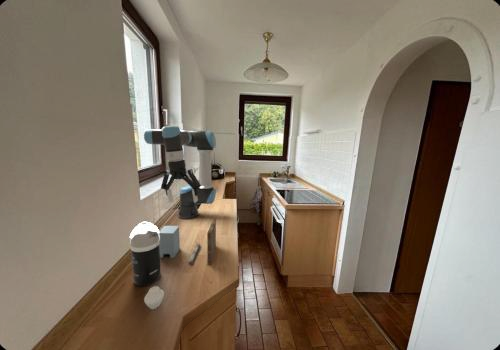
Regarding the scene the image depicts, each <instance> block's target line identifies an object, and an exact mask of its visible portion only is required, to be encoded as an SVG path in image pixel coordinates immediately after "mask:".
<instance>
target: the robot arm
mask: <svg viewBox="0 0 500 350" xmlns="http://www.w3.org/2000/svg"><path fill="white" fill-rule="evenodd" d="M143 140H144V141H145V143H146V144H147V145H148V144H149V145H161V146H162V145H163V146H164V148H165V155H166V159H167V165H168V169H166V170H164V171H163V179H162V182H161V186H160V189H161V190H165V195H166V196H167V199H168V203H169V204H170V203H172V202H174V196H173V192H172V188H171V187H172V184H173V183H174V181H176V180H183V181H185V182H186V184H187V186H182V187H180V189H179V204H180V205H179V210H178V213H177V216H178V217H177V218H179V219H181V220H190V219H194V218H197V217H198V216H199V210H198V207H197V204H205V205H211V204H213V203H214V202H215V199H216V196H217V195H216V193H217V189H216V188H214V185H213V184H212V152H213V151H214V149H215V148H216V146H217V140H216V136H215V134H214V132H212V131H210V130H209V131H208V130H185V129H180V127H179V126H178V125H169V126H168V125H167V126H163V127H162V128H161V129H156V128H155V129H154V128H153V129H152V128H151V129H149V128H148V129H146V130H144V133H143ZM183 146H185V147H190V148H196V151H197V152H199V153H198V154H199V156H198V159H199V160H198V161H199V164H198V165H199V168H198V169H199V180H198V178H197V177H196V176H195V174H194V171H193V169H192V168H190V169H186V168H187V167H186V161H185V154H184V149H183V148H184V147H183Z"/></svg>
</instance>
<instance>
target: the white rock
mask: <svg viewBox="0 0 500 350" xmlns="http://www.w3.org/2000/svg"><path fill="white" fill-rule="evenodd" d="M164 298H165V291H164V290H163V289H161V288H160V287H159V286H158V285H154V286H152V287H150V288H149V290H148V291H147V293H146V294H145V295H144V298H143V300H144V302H143V303H145V305H146V306H147V307H148V308H149V309H150V310H155V309H158V308H159V307H160V305H161V303H162V302H163V300H164ZM157 307H158V308H157Z"/></svg>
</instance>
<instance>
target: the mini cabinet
mask: <svg viewBox="0 0 500 350" xmlns="http://www.w3.org/2000/svg"><path fill="white" fill-rule="evenodd" d="M158 231H159V240H160V243H159V247H160V259H163V258H164V256H165V255H169V257H170V258H171V259H173V258H174V259H175V257H176V256H177V255H178V252H179V251H180V248H181V245H180V244H181V243H180V242H181V241H180V225H163V226H162V228H160V230H158Z"/></svg>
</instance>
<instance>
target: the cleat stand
mask: <svg viewBox="0 0 500 350" xmlns="http://www.w3.org/2000/svg"><path fill="white" fill-rule="evenodd" d="M206 234H207V235H206V236H207V241H206V242H207V243H206V244H207V247H206V248H207V251H206V252H207V265H209V266H210V265H211V264H212V261H213V257H214V254H215V250H216V246H217V245H216V243H217V239H216V237H217V219H216V218H213V219H212V221H211V222H210V225H209V227H208V229H207V233H206ZM200 246H201V243H200V242H198V243H196V245H195V247H194V249H193V252H192V254H191V256H190V258H189V259H188V265H193V263H194V260H195V258H196V256H197V255H198V251H199V249H200Z"/></svg>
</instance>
